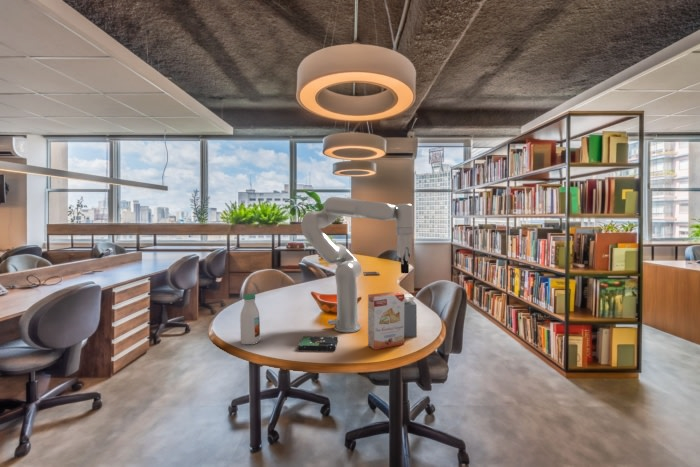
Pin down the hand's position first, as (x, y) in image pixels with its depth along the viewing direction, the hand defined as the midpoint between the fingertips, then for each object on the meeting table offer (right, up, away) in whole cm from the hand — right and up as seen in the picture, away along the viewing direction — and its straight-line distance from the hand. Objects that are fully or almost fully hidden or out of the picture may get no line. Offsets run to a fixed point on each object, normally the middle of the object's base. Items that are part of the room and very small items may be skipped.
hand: (404, 272), depth 140 cm
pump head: (0, -23, -1) cm, 23 cm away
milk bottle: (-66, -28, -7) cm, 73 cm away
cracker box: (-10, -28, -13) cm, 32 cm away
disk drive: (-37, -29, -13) cm, 49 cm away
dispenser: (0, -27, +1) cm, 27 cm away
